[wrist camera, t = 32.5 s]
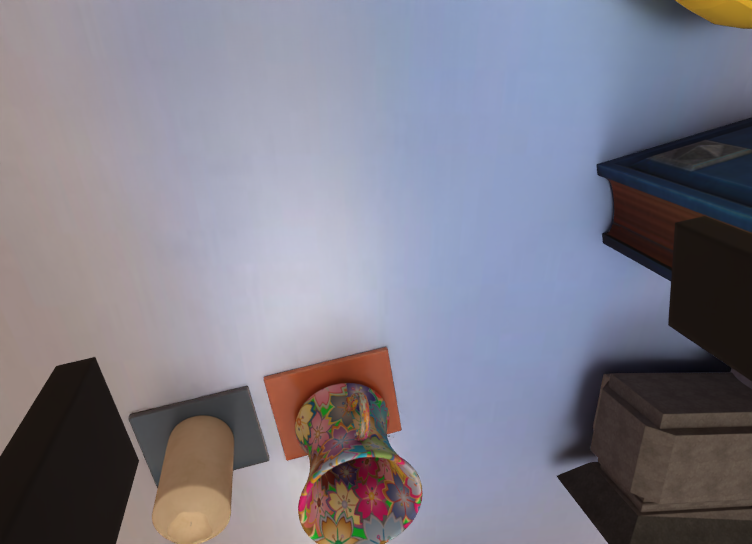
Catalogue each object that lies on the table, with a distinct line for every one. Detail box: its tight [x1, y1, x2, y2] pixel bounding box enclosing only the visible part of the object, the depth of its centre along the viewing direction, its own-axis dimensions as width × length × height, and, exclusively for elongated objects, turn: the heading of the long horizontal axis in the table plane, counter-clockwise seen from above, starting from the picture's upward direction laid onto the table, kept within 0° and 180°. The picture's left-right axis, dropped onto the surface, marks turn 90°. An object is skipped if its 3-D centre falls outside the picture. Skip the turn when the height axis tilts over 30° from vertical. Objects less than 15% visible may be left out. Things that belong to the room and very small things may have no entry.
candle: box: [152, 416, 234, 544], centre depth 44 cm, size 6×6×10 cm
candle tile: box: [129, 386, 269, 488], centre depth 49 cm, size 8×10×1 cm
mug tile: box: [264, 347, 402, 461], centre depth 50 cm, size 9×11×1 cm
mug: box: [295, 383, 422, 544], centre depth 45 cm, size 12×9×11 cm
